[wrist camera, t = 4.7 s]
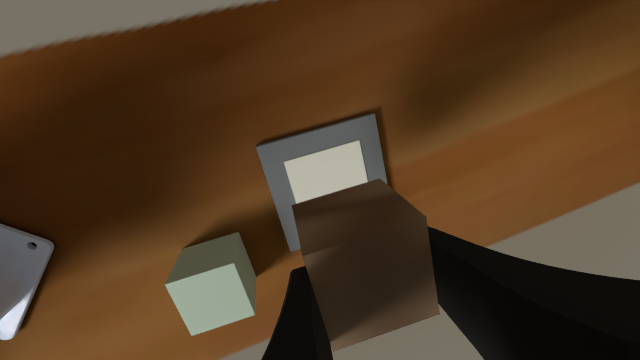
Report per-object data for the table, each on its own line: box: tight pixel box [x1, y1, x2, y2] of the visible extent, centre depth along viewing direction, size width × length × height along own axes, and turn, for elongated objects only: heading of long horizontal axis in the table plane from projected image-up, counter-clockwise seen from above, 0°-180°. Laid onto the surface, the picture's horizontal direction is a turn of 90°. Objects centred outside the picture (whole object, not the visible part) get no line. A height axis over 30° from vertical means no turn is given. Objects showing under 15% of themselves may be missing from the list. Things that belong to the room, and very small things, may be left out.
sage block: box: [165, 232, 256, 336], centre depth 20 cm, size 4×4×4 cm
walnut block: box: [291, 178, 440, 351], centre depth 12 cm, size 4×4×4 cm
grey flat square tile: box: [256, 113, 388, 252], centre depth 21 cm, size 8×8×1 cm
